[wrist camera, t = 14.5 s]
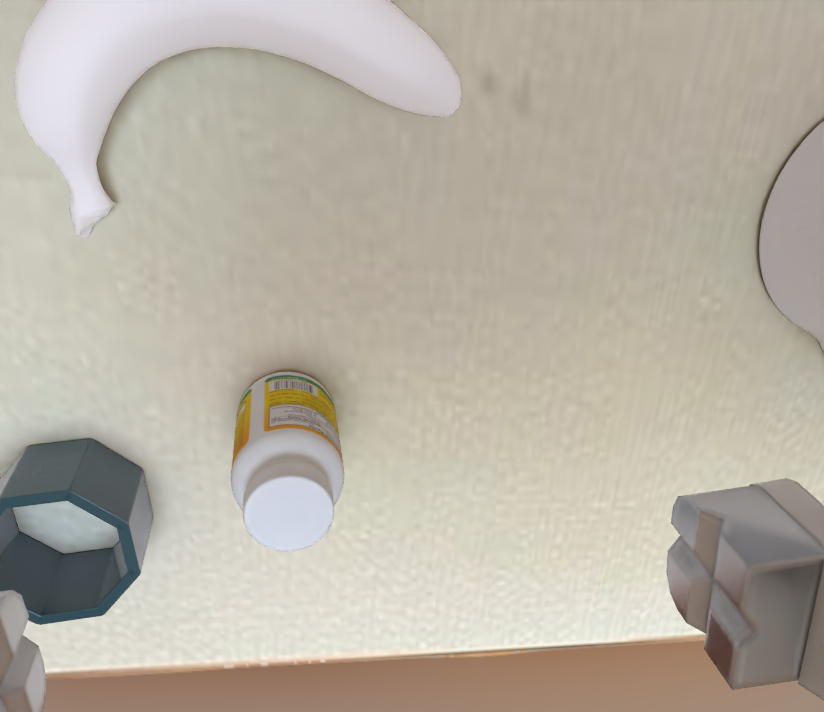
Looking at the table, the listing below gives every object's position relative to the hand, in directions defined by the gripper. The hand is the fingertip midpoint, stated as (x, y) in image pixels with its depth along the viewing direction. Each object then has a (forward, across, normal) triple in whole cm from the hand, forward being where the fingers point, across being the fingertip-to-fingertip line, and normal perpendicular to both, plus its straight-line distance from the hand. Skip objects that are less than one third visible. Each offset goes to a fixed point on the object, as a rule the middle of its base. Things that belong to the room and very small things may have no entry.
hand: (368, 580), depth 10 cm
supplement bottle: (+31, +2, +14) cm, 34 cm away
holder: (+31, +14, +18) cm, 38 cm away
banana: (+31, +2, -2) cm, 31 cm away
